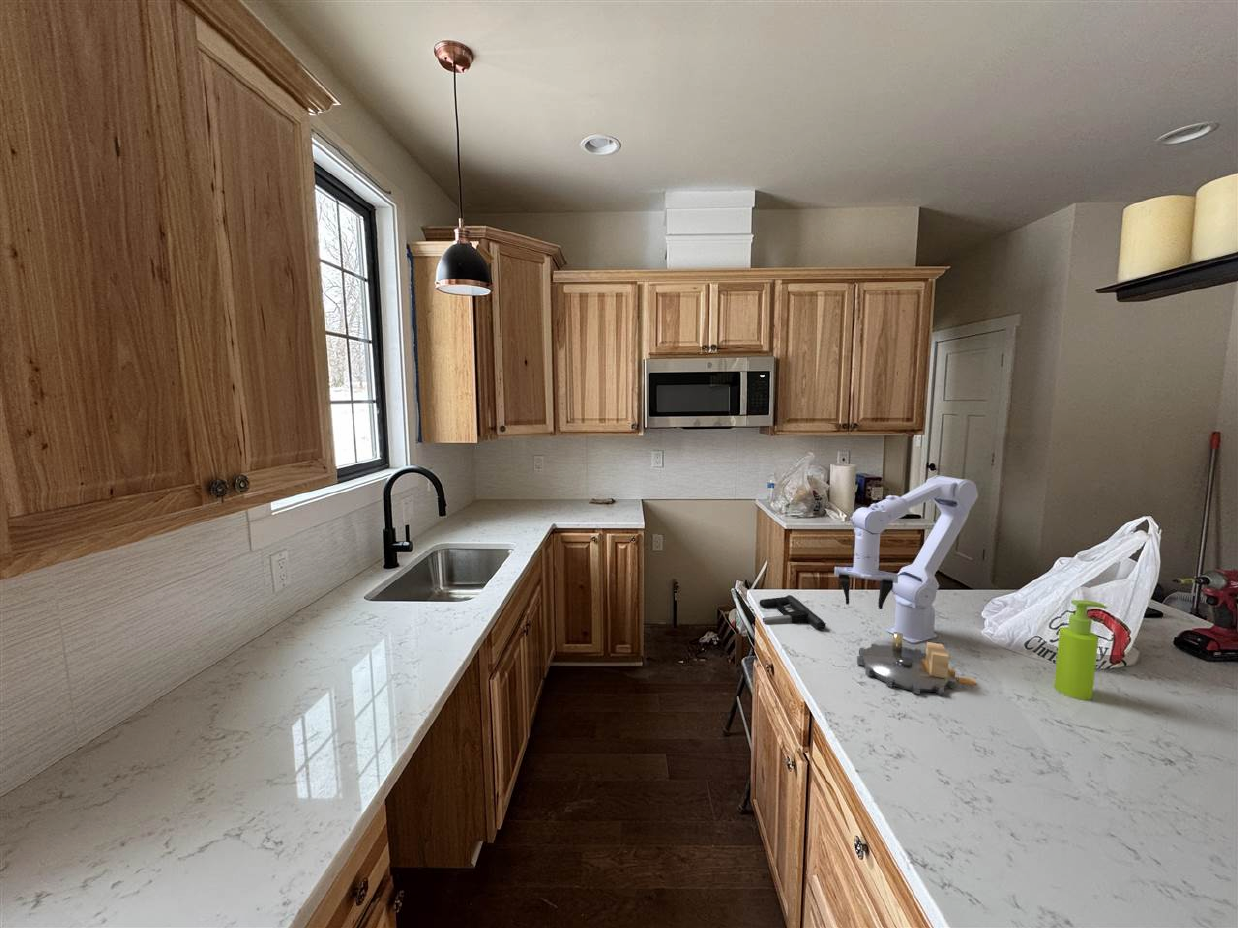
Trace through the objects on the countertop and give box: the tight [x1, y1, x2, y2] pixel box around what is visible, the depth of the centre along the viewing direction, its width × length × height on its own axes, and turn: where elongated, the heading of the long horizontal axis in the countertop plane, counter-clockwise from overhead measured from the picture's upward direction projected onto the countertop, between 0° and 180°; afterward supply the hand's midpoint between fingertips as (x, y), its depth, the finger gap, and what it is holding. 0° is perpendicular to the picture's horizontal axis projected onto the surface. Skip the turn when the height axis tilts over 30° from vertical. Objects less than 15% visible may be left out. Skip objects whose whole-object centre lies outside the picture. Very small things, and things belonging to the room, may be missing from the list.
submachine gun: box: [759, 594, 827, 631], centre depth 141 cm, size 3×20×16 cm
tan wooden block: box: [925, 641, 950, 678], centre depth 108 cm, size 6×3×5 cm, turn 158°
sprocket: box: [856, 632, 957, 696], centre depth 111 cm, size 20×20×6 cm
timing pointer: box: [957, 676, 976, 685], centre depth 107 cm, size 3×1×1 cm, turn 68°
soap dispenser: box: [1053, 599, 1108, 701], centre depth 102 cm, size 6×7×20 cm
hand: (863, 605), depth 126 cm, fingers open, 7 cm apart
